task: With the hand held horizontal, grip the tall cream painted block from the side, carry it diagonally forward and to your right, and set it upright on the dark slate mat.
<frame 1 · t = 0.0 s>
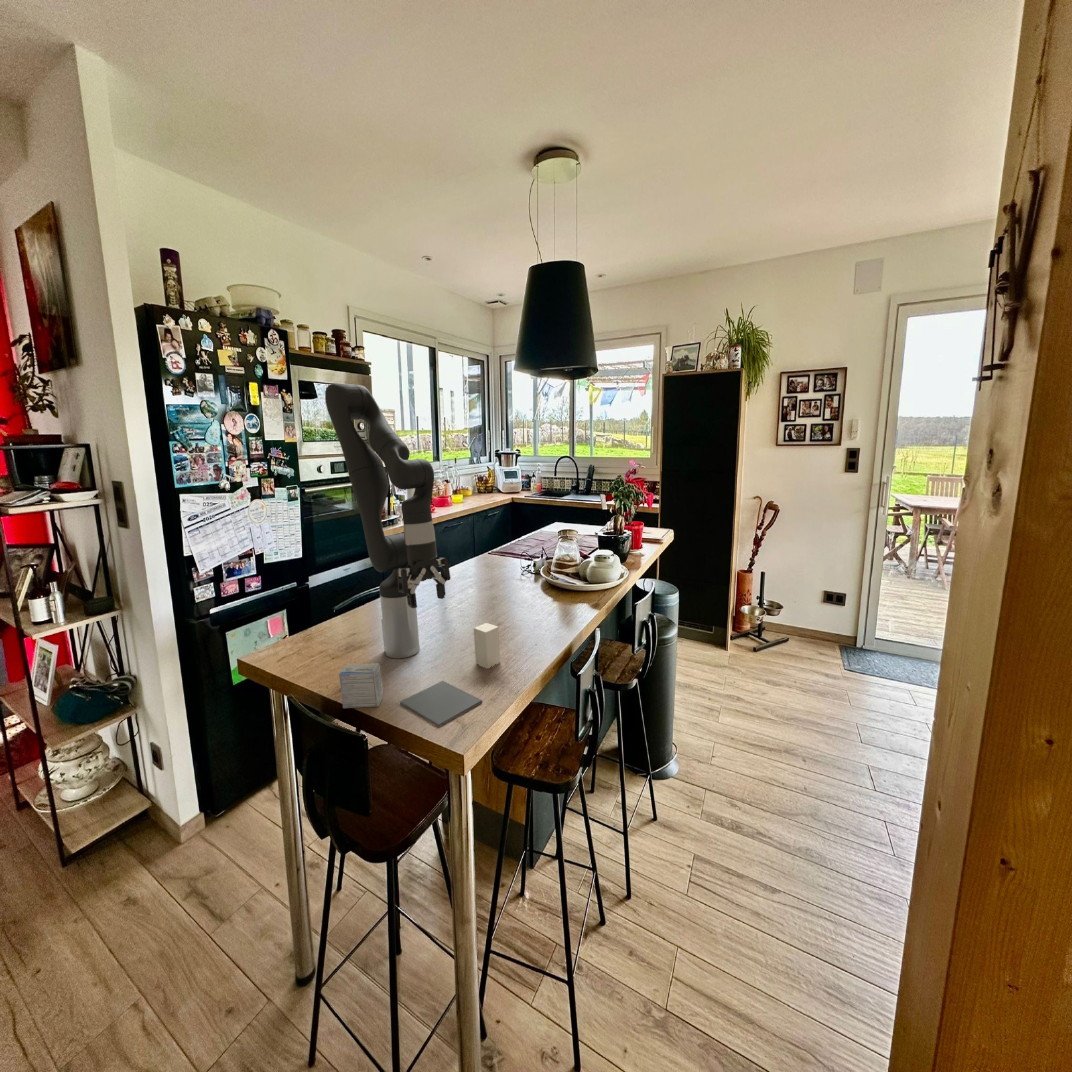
hand: (427, 602, 124), 17 cm above the kitchen island, tool pointing down, fingers open, 8 cm apart
slate mat: (441, 703, 109), on the kitchen island
medicine box: (363, 703, 111), on the kitchen island
cream block: (488, 663, 128), on the kitchen island
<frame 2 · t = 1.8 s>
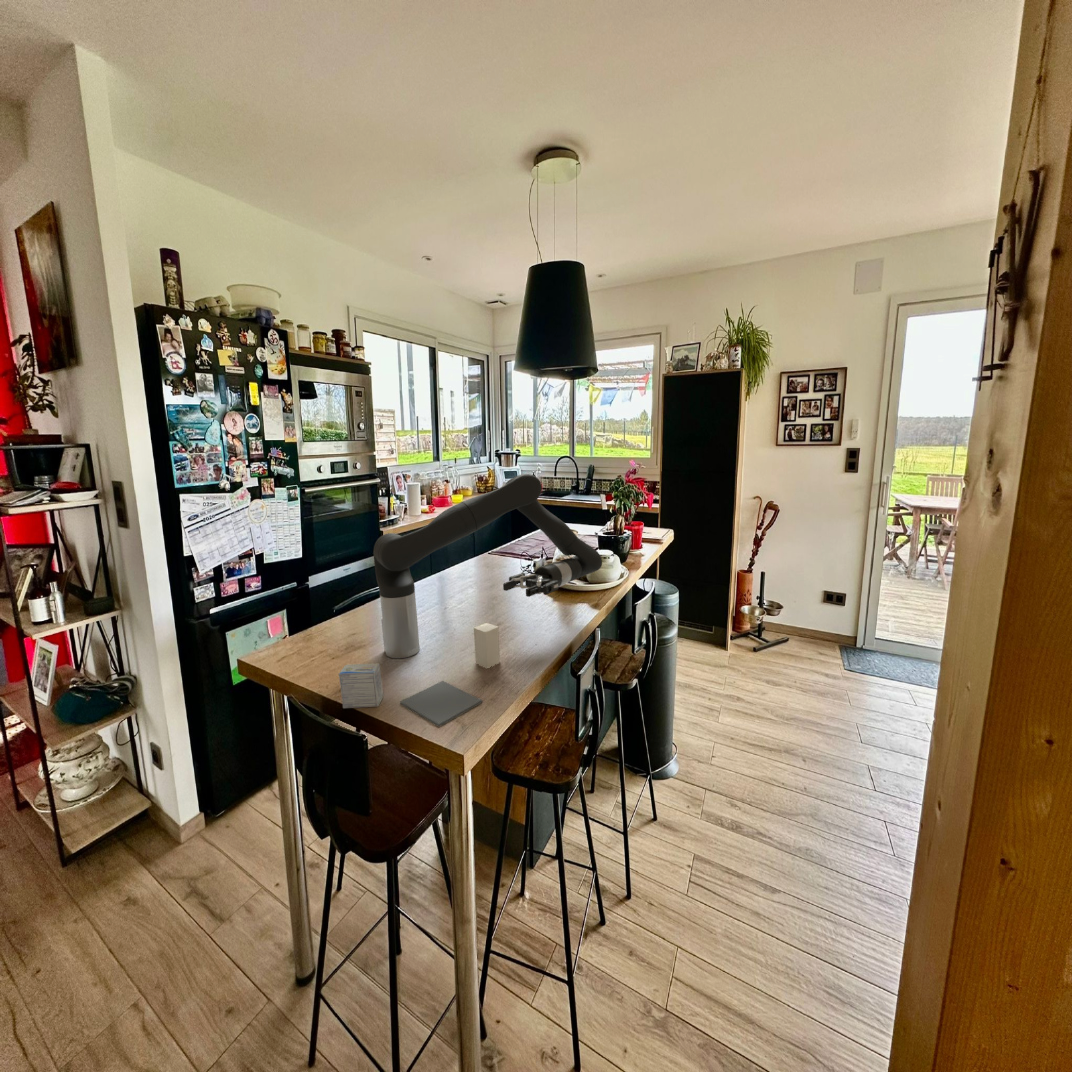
hand: (515, 590, 133), 17 cm above the kitchen island, tool horizontal, fingers open, 8 cm apart
nothing on the kitchen island moved.
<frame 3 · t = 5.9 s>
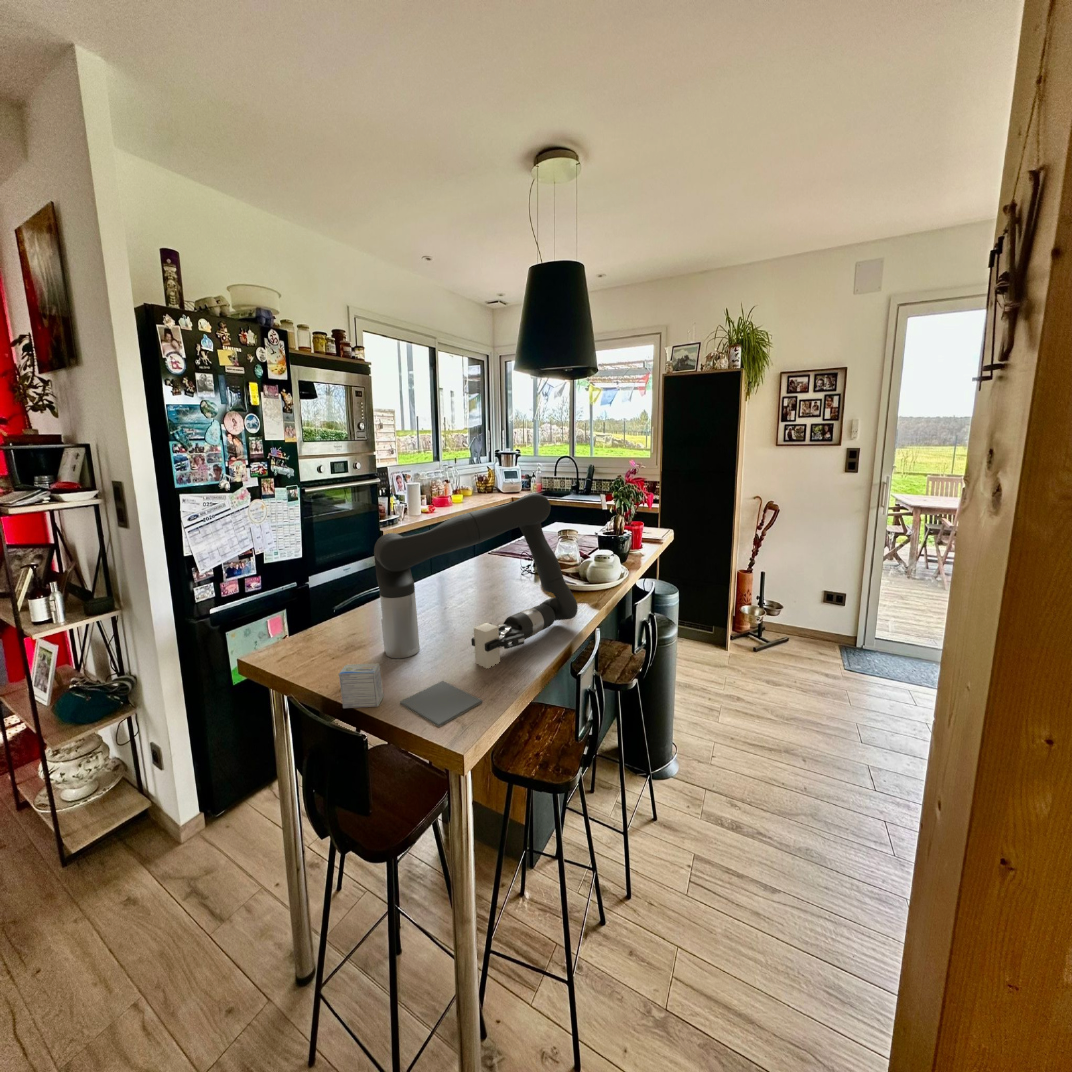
hand: (479, 645, 125), 6 cm above the kitchen island, tool horizontal, fingers closed on cream block, 4 cm apart
cream block: (488, 663, 128), on the kitchen island, touching gripper
everything else where it was.
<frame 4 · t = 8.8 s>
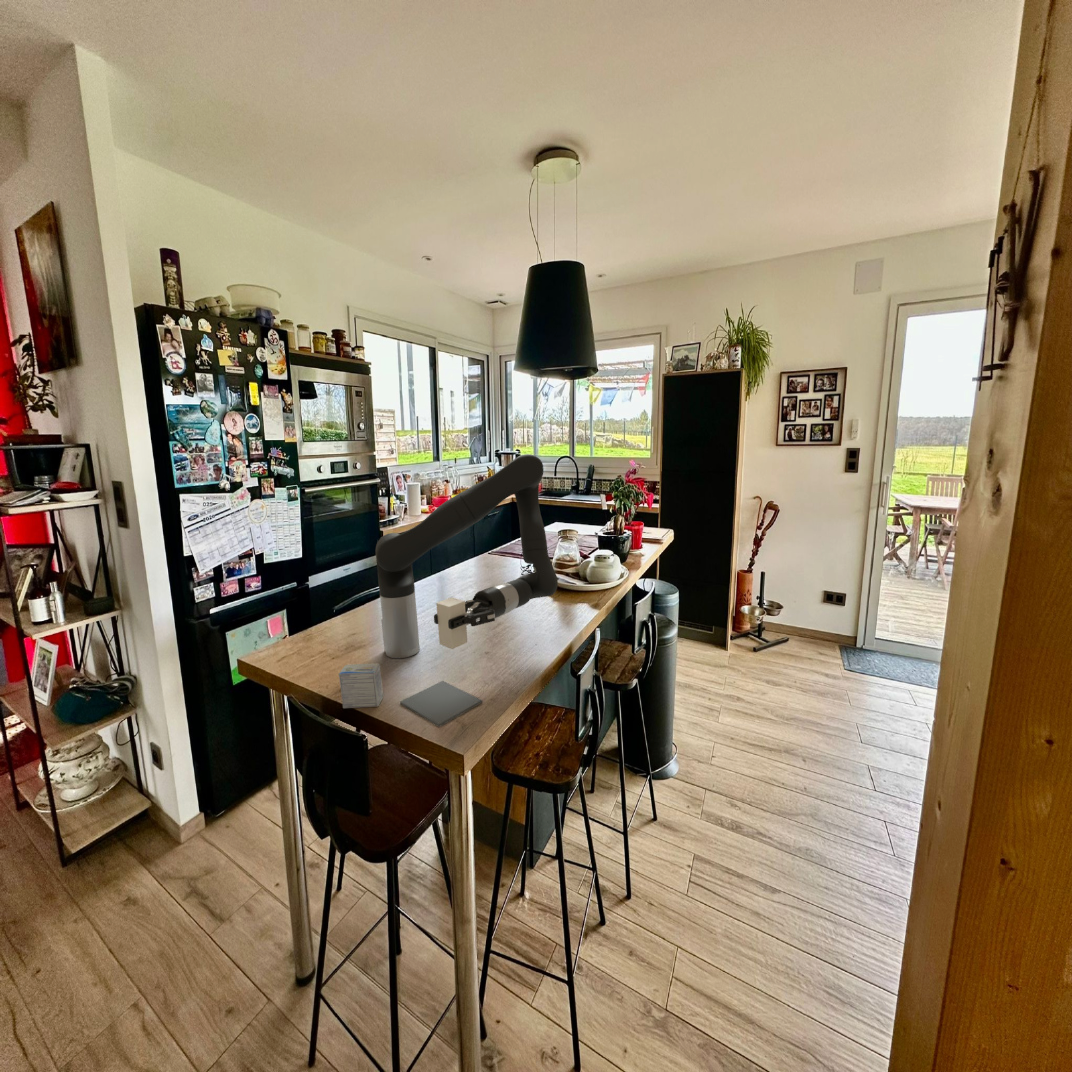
hand: (442, 622, 109), 18 cm above the kitchen island, tool horizontal, fingers closed on cream block, 4 cm apart
cream block: (453, 643, 112), point 12 cm above the kitchen island, touching gripper
everything else where it was.
when the fingers open (8 cm above the kitchen island, at t = 11.9 s): cream block drops 1 cm, resting on slate mat.
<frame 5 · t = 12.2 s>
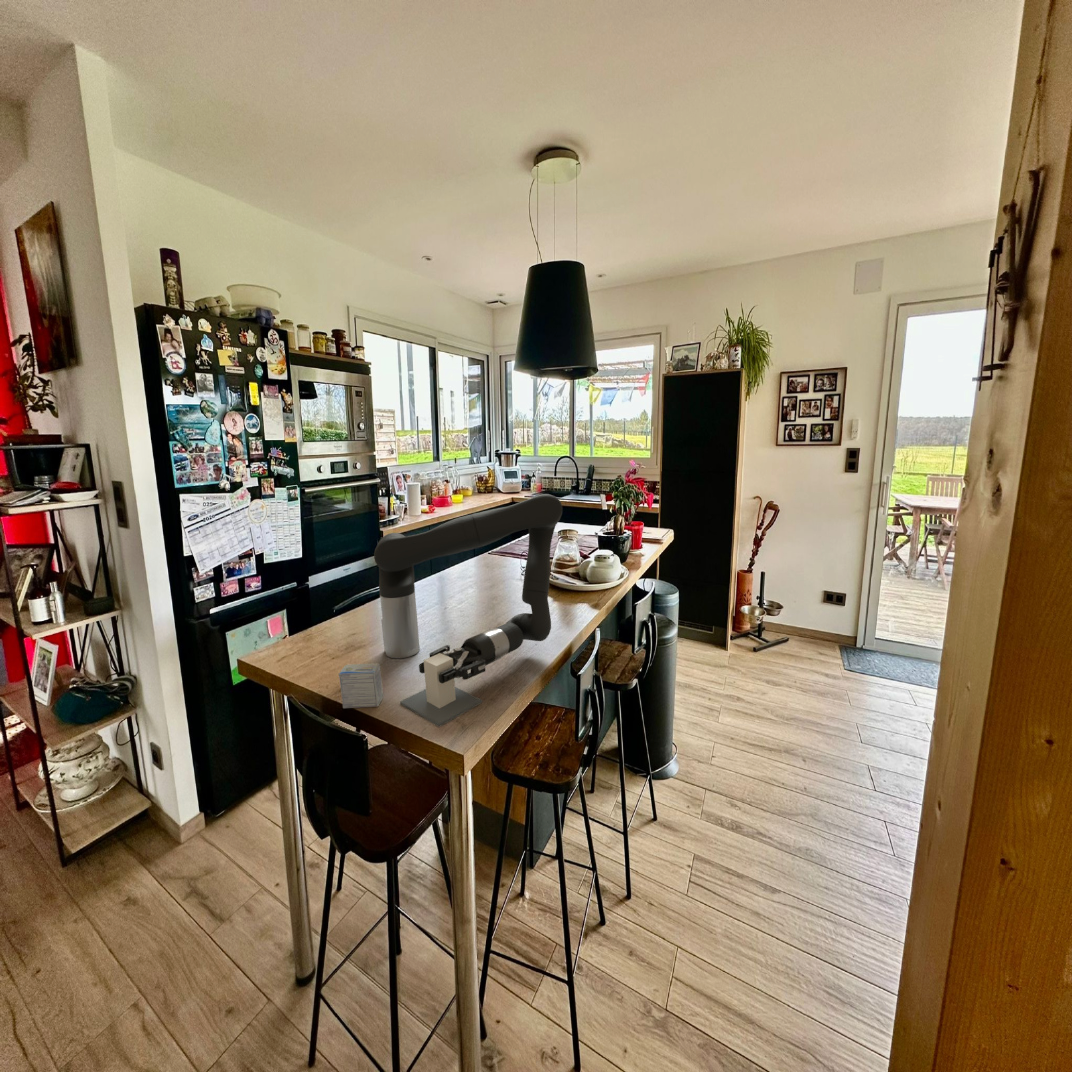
hand: (430, 673, 106), 8 cm above the kitchen island, tool horizontal, fingers open, 6 cm apart
cream block: (441, 700, 109), point 1 cm above the kitchen island, touching slate mat
everything else where it was.
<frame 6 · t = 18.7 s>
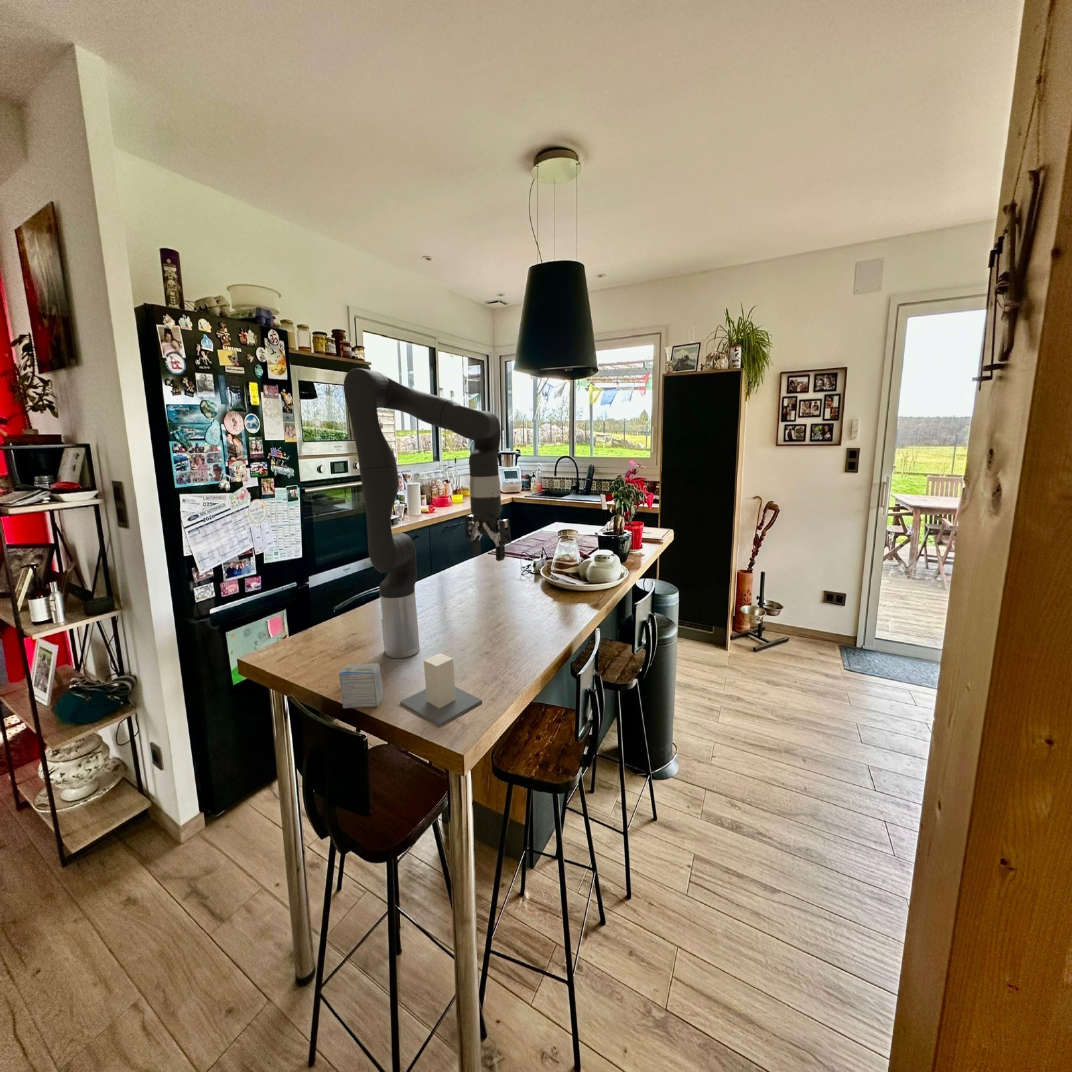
hand: (488, 557, 124), 28 cm above the kitchen island, tool pointing down, fingers open, 8 cm apart
nothing on the kitchen island moved.
at the end: cream block inside the target area on the slate mat (0.1 cm from its centre), point 0.6 cm above the slate mat's base; cream block tilted 0°; the gripper is holding nothing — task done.
